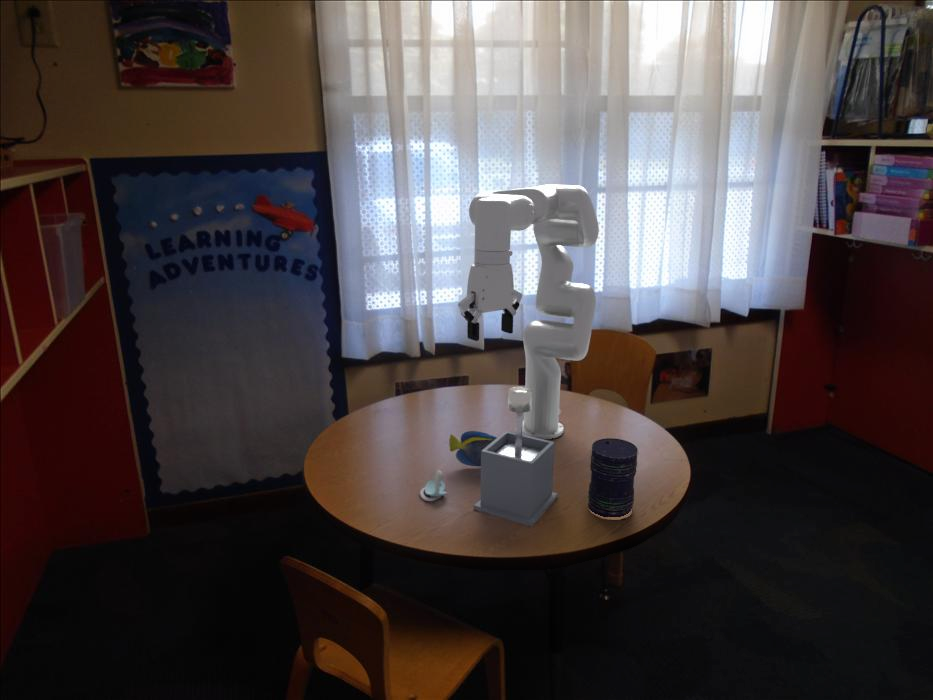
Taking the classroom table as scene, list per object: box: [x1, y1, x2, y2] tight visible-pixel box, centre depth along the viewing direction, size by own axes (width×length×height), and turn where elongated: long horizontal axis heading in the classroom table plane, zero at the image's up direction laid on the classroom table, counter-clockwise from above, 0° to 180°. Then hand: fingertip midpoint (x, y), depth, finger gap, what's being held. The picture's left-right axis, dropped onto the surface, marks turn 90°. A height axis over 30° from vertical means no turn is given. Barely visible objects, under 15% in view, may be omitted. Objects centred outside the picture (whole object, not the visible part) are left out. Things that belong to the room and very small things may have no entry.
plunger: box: [496, 386, 542, 461], centre depth 148 cm, size 9×9×16 cm
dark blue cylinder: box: [587, 437, 639, 517], centre depth 150 cm, size 10×10×15 cm
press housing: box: [473, 430, 559, 528], centre depth 152 cm, size 14×14×14 cm
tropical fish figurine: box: [448, 430, 498, 467], centre depth 169 cm, size 16×3×10 cm, turn 86°
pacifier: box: [419, 469, 448, 502], centre depth 157 cm, size 7×6×6 cm
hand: (490, 335), depth 150 cm, fingers open, 9 cm apart
